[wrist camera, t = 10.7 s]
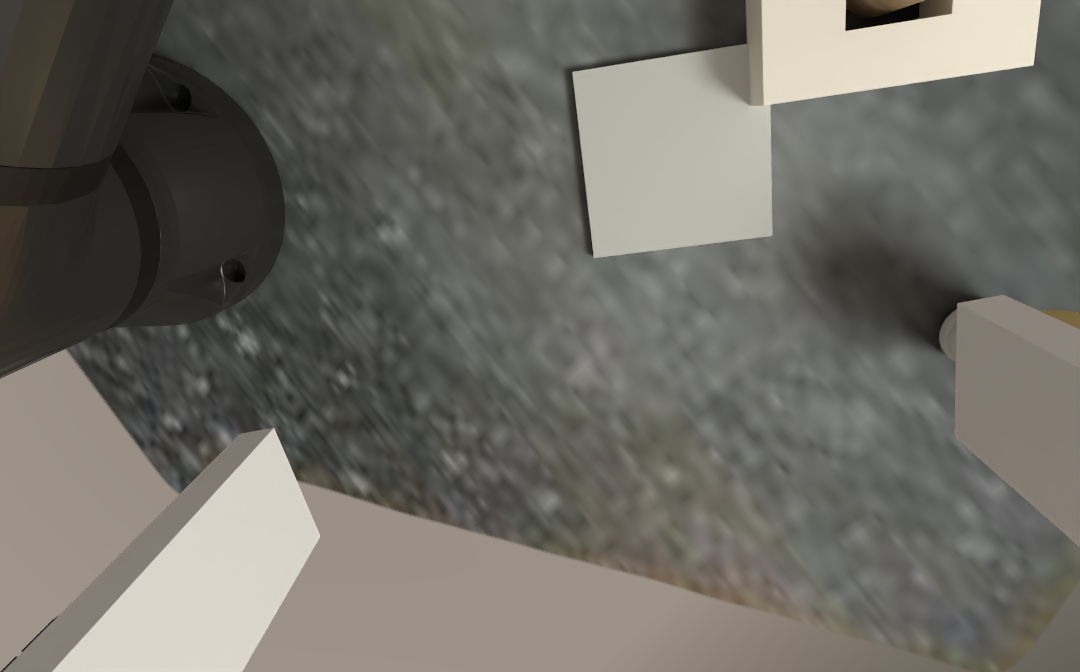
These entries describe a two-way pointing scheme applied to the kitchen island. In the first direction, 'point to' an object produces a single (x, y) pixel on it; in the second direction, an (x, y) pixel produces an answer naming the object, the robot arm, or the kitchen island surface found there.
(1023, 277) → the kitchen island surface
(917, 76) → the hole block
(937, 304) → the kitchen island surface
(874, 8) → the dowel
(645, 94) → the mat
